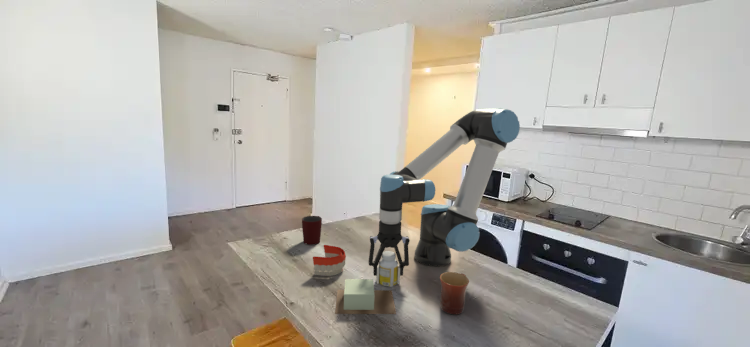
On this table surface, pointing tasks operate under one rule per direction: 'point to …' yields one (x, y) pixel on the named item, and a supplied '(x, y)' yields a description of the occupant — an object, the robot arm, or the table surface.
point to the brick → (359, 294)
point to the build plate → (381, 303)
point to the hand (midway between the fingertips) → (387, 283)
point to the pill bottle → (388, 269)
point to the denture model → (330, 261)
